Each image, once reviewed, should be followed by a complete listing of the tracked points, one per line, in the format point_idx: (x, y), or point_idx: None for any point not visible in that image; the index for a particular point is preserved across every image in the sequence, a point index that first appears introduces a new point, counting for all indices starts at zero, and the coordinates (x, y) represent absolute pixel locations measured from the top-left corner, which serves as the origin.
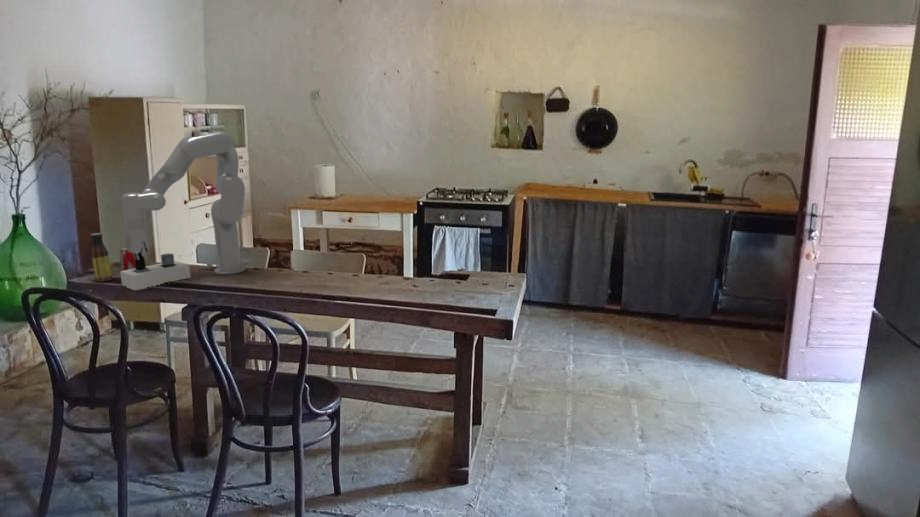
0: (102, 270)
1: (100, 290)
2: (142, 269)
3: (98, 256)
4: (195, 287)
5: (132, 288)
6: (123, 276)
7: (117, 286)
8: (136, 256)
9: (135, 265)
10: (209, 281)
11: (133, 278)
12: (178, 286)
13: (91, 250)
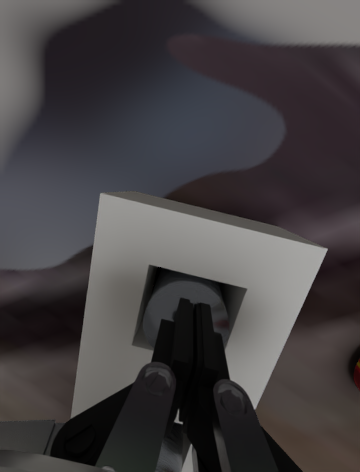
0: None
1: (316, 110)
2: (164, 317)
3: None
4: None
5: (162, 198)
6: (266, 229)
7: (290, 207)
8: (220, 433)
9: (211, 322)
10: (3, 392)
11: (113, 193)
12: (33, 310)
13: None
